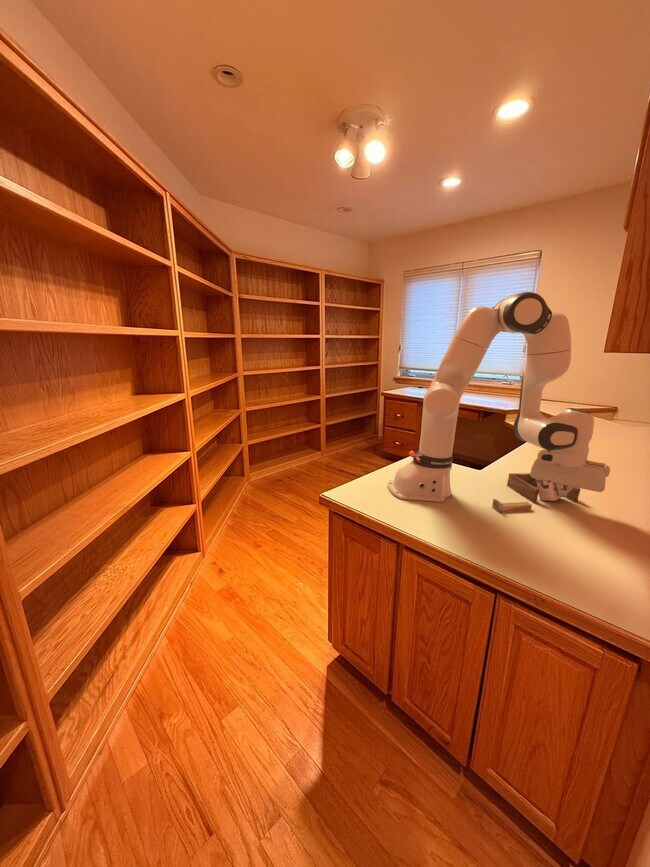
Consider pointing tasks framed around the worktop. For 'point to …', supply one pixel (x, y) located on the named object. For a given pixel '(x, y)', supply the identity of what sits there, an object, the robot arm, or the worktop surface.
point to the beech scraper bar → (510, 506)
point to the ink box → (548, 490)
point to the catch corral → (534, 487)
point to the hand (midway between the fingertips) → (562, 496)
